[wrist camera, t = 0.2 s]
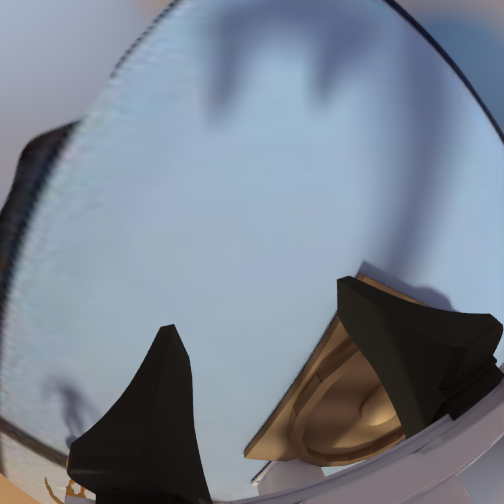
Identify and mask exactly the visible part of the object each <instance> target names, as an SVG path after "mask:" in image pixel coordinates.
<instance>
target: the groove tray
mask: <svg viewBox="0 0 504 504" xmlns="http://www.w3.org/2000/svg"><path fill="white" fill-rule="evenodd" d="M356 279H358V280H360V281H363V282H365V283H367V284H369V285H371V286H373V287H376V288H378V289H380V290H382V291H385V292H387V293H389V294H392V295H394V296H396V297H399V298H402V299H404V300H407V301H410V302H413V303H416V304H420V305H423V306H426V305H424V304H422V303H420V302H418V301H416V300H414V299H412V298H410V297H408V296H406V295H404V294H402V293H400V292H398V291H396V290H394V289H392V288H390V287H388V286H386V285H384V284H382V283H380V282H377V281H375V280H373V279H371V278H369V277H367V276H365V275H363V274H361V273H359V274H358V276H357V278H356ZM427 307H428V306H427ZM405 437H406V436H405V434H404V431H403V428H402V426H401V423H400V421H399V418H398V416H397V414H396V412H395V409H394V407H393V405H392V403H391V401H390V399H389V397H388V395H387V393H386V391H385V389H384V387H383V385H382V383H381V381H380V379H379V378H378V376H377V374H376V372H375V371H374V369H373V368H372V366H371V365H370V363H369V362H368V361H367V359H366V358H365V357H364V355H363V354H362V353H361V351H360V350H359V348H358V347H357V346H356V344H355V343H354V342H353V340H352V339H351V338H350V336H349V335H348V333H347V332H346V330H345V328H344V326H343V325H342V323H341V321H340V319H339V317H338V313H337V315H336V317H335V318H334V320H333V322H332V324H331V325H330V327H329V329H328V330H327V332H326V334H325V335H324V337H323V339H322V340H321V342H320V344H319V345H318V347H317V349H316V350H315V352H314V353H313V355H312V357H311V358H310V360H309V361H308V363H307V365H306V366H305V368H304V369H303V371H302V372H301V374H300V375H299V377H298V378H297V380H296V381H295V383H294V384H293V386H292V387H291V389H290V390H289V392H288V393H287V395H286V396H285V397H284V399H283V400H282V402H281V403H280V405H279V406H278V407H277V409H276V410H275V412H274V413H273V414H272V416H271V417H270V418H269V420H268V421H267V422H266V424H265V425H264V426H263V428H262V429H261V430H260V432H259V433H258V434H257V436H256V437H255V438H254V440H253V441H252V442H251V443H250V445H249V446H248V447H247V448H246V450H245V451H244V457H245V458H247V459H257V460H269V461H286V462H287V461H290V460H294V459H298V458H300V460H303V461H305V462H308V463H311V464H313V465H316V466H319V467H331V466H345V465H349V464H353V463H356V462H359V461H362V460H367V459H370V458H372V457H374V456H376V455H378V454H380V453H382V452H384V451H386V450H388V449H390V448H392V447H394V446H395V445H396V444H397V443H399V442H400V441H402V440H403V439H404V438H405Z"/></svg>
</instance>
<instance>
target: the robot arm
mask: <svg viewBox="0 0 504 504" xmlns="http://www.w3.org/2000/svg"><path fill="white" fill-rule="evenodd" d="M337 309H338V317H339V319H340V321H341V323H342V325H343V326H344V328H345V330H346V332H347V333H348V335H349V336H350V338H351V339H352V340H353V342H354V343H355V344H356V346H357V347H358V348H359V350H360V351H361V353H362V354H363V355H364V357H365V358H366V359H367V361H368V362H369V363H370V365H371V366H372V368H373V369H374V371H375V372H376V374H377V376H378V378H379V379H380V381H381V383H382V385H383V387H384V389H385V391H386V393H387V395H388V397H389V399H390V401H391V403H392V405H393V407H394V409H395V412H396V414H397V416H398V418H399V421H400V423H401V426H402V428H403V431H404V434H405V436H406V439H407V440H405V441H403V442H401V443H399V444H398V445H396V446H394V447H392V448H390V449H388V450H386V451H384V452H382V453H380V454H378V455H376V456H374V457H372V458H370V459H368V460H365V461H363V462H361V463H359V464H356V465H354V466H352V467H349V468H347V469H344V470H342V471H339V472H337V473H334V474H331V475H329V476H326V477H325V475H324V473H323V471H322V469H321V467H319V466H316V465H313V464H311V463H308V462H305V461H303V460H300V458H298V459H294V460H290V461H287V462H286V461H272V462H271V463H270V464H269V465H268V466H267V467H266V468H265V469H264V470H263V471H262V472H261V473H260V474H259V475H258V476H257V477H256V478H255V479H254V480H253V481H252V482H251V485H252V486H257V488H258V492H259V496H256V497H252V498H247V499H241V500H236V501H230V502H223V503H216V504H474V503H473V501H472V500H471V498H470V496H469V495H468V493H467V491H466V490H465V488H464V487H463V485H462V483H461V482H460V480H459V479H458V477H457V475H458V474H459V473H461V472H462V471H463V470H465V469H466V468H467V467H469V466H470V465H471V464H472V463H473V462H475V461H476V460H477V459H478V458H479V457H480V456H482V455H483V454H484V453H485V452H486V451H487V450H488V449H489V448H491V447H492V446H493V445H494V444H495V443H496V442H497V441H498V440H499V439H500V438H501V437H502V436H503V435H504V363H503V364H502V365H501V366H500V367H499V368H498V367H497V366H496V365H495V364H496V363H497V359H496V358H495V357H494V356H493V354H494V352H495V350H496V348H497V346H498V344H499V342H500V339H501V337H502V334H503V325H502V324H501V323H500V322H499V321H498V320H497V319H496V318H495V317H493V316H492V315H491V314H473V313H460V312H451V311H445V310H440V309H435V308H431V307H427V306H423V305H420V304H416V303H413V302H410V301H407V300H404V299H402V298H399V297H396V296H394V295H392V294H389V293H387V292H385V291H382V290H380V289H378V288H376V287H373V286H371V285H369V284H367V283H365V282H363V281H360V280H358V279H356V278H354V277H351V276H346V277H343V278H340V279H337ZM67 474H68V475H69V477H70V478H71V479H72V480H73V481H75V482H76V483H77V484H79V485H81V486H82V487H84V488H86V489H87V490H89V491H91V492H93V493H94V494H96V501H95V500H92V499H87V498H81V497H74V496H68V495H67V496H65V503H64V504H213V503H212V500H211V497H210V493H209V490H208V487H207V483H206V480H205V476H204V472H203V468H202V464H201V459H200V455H199V450H198V445H197V440H196V434H195V428H194V415H193V387H192V373H191V366H190V360H189V356H188V354H187V352H186V349H185V347H184V345H183V343H182V341H181V338H180V336H179V334H178V332H177V329H176V327H175V325H174V324H172V325H167V326H163V327H160V329H159V331H158V333H157V335H156V337H155V339H154V341H153V343H152V345H151V347H150V349H149V351H148V353H147V355H146V357H145V359H144V361H143V362H142V364H141V366H140V368H139V369H138V371H137V373H136V374H135V376H134V378H133V380H132V381H131V383H130V384H129V386H128V387H127V388H126V390H125V391H124V393H123V394H122V395H121V397H120V398H119V399H118V400H117V401H116V403H115V404H114V405H113V406H112V407H111V408H110V410H109V411H108V412H107V413H106V414H105V415H104V416H103V417H102V418H101V419H100V420H99V421H98V422H97V423H96V424H95V425H94V426H93V427H92V428H90V429H89V430H88V431H87V432H86V433H84V434H83V435H82V436H81V437H79V438H78V439H77V440H76V441H74V442H73V443H71V447H70V453H69V460H68V467H67Z"/></svg>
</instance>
